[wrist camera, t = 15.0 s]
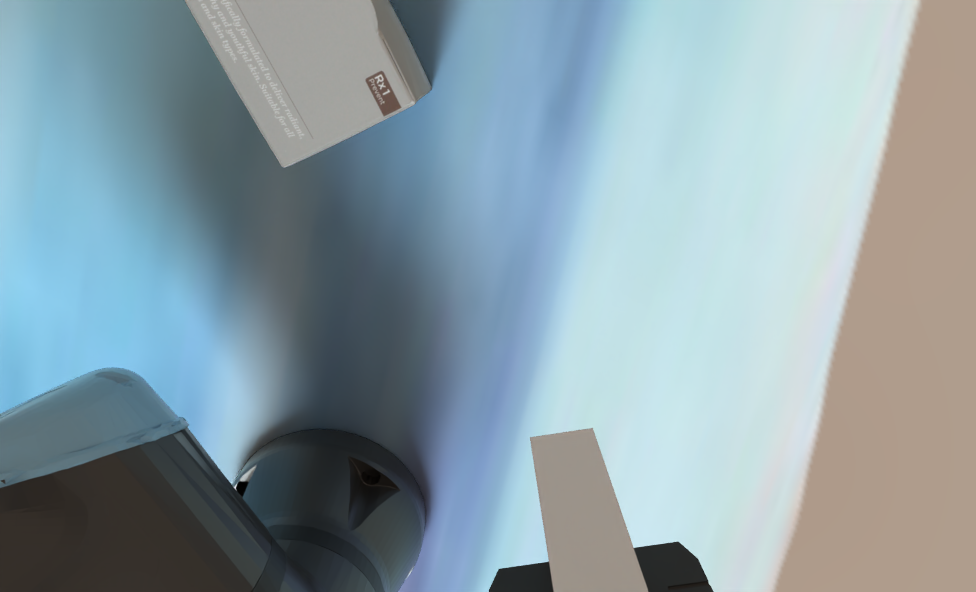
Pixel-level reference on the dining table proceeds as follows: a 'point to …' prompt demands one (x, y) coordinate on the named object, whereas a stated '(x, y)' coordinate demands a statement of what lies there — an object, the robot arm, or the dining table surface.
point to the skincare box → (313, 67)
